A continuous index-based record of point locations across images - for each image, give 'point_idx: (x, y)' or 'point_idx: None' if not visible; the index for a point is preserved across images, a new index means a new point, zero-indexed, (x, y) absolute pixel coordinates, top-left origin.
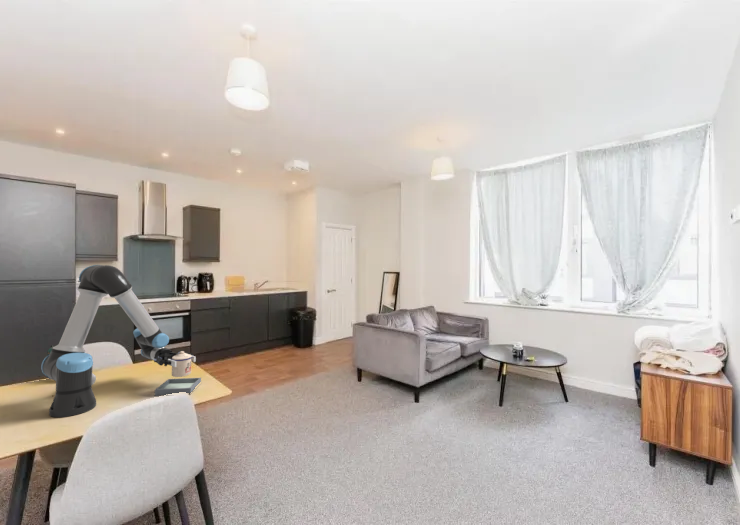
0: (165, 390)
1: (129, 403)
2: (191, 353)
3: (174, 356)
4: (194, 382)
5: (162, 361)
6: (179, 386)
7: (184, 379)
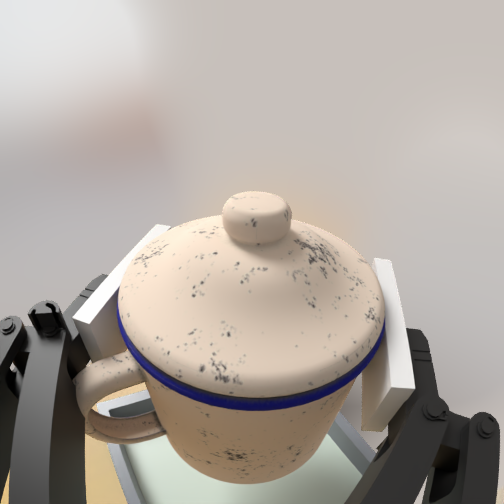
0: (365, 448)
1: (497, 490)
2: (13, 322)
3: (343, 313)
4: (124, 447)
5: (469, 418)
6: (221, 488)
7: (140, 499)
